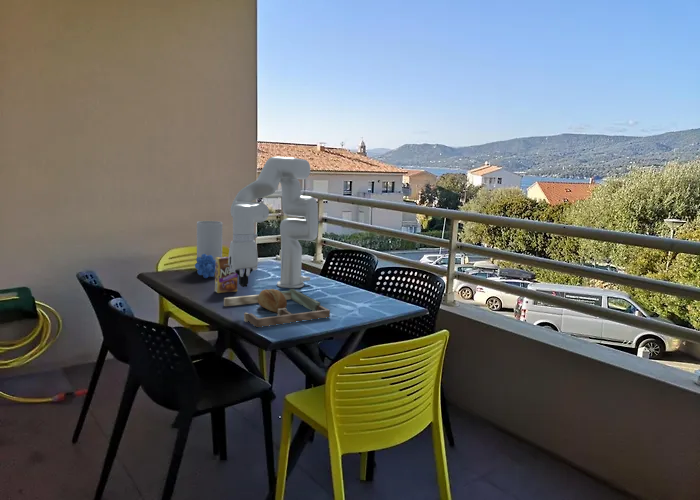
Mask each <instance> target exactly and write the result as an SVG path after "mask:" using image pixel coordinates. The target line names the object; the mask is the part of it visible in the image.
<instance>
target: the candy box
mask: <svg viewBox="0 0 700 500" xmlns="http://www.w3.org/2000/svg"><path fill="white" fill-rule="evenodd" d="M228 259H229V256H222V257H216V266H215V272H214V292H215V293H217V294H222V293H232V292H233V293H234V292H238V280H239V275H238V274H237V273H234V272H230V271H229V268H230V266H229V264H228Z"/></svg>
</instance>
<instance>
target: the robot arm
mask: <svg viewBox="0 0 700 500" xmlns="http://www.w3.org/2000/svg"><path fill="white" fill-rule="evenodd" d="M310 174H311V166H310V162H309V161H308V160H306V159H302V158H297V157H289V156H285V157H284V156H272V157H269V158H268V159H267V160H266V162H265V163H264V165H263V167H262V169H261V172H260V173H259V175H258V176H257V179H256V180H255V181H253V182H251V183H249V184H247V185H246V186H245V187H243V188H241V189H240V190H239V191H238V192H237V194H236V196H235V197H234V199H233V201H232V204H231V207H230V215H231V217H232V240H231V241H230V244H229V249H228V250H229V251H228V257H229V259H228V264H229V266H230V268H229V271H230V272H234V273H237V274H238V285H240V287H242V288H245V287H246V288H247V287H248V285H249V276H250V274H251V273H252V272H254V271H257V270H258V269H259V268H258V264H259V258H258V257H259V256H258V255H259V254H258V248H257V243H256V241H255V239H256V238H258V234H257V233H255V223H263V222H265V221H266V220H267V219H269V215H270V210H269V207H268V205H267V204H265V203H263V202H258V201H257V202H256V201H255V200H257V199H261V198H262V199H263V198H266V197H268V196H271V195H273V194H275V192H276V191H277V188H278V187H279V184H280V186H281V201H282V202H281V205H282V212H283V214H284V215H286V216H289V217H287V218H284V219H283V220H281V222H280V223H279V232H280V240H281V242H280V243H281V244H280V245H281V246H280V247H281V252H280V253H281V254H280V280H278V281H277V282H276V285H277V286H278V287H279V288H284V289H299V288H303V287H304V286H305V281H307V282H308V281H311V277H310V276H303V275H302V263H303V262H302V257H303V256H302V255H303V248H302V245H301V243H300V241H309V242H310V241H314V240H316V239H317V237H318V234H319V217H318V215H319V213H318V211H319V210H318V202H317V199H315V197H313V196H309V195H302V189H301V188H302V186H301V181H299V180H306V179H308V178H309V176H310ZM290 217H291V218H290ZM292 217H293V218H292ZM294 217H295V218H294ZM296 217H300V218H296ZM303 218H304V219H303ZM299 240H300V241H299ZM243 269H244V270H243Z"/></svg>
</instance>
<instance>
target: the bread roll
mask: <svg viewBox="0 0 700 500" xmlns="http://www.w3.org/2000/svg"><path fill="white" fill-rule="evenodd" d="M258 295H259V297H258V303H257V304H259V306H260V307H261V308H264V309H266V310H267V311H269V312H274V313H277V314H278V309H280V308H286V309H287V306H288V302H287V300H286V298H285V296H284V295H283V294H282V293H281V292H280V290H279V289H275V288H265V289H262V290H261V291H260V292H259V294H258Z"/></svg>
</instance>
